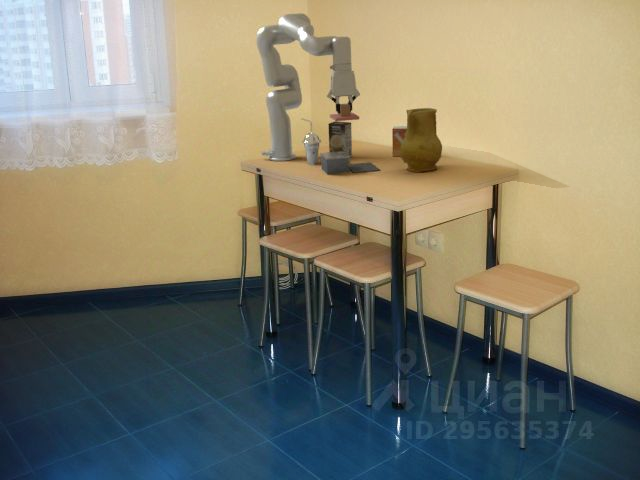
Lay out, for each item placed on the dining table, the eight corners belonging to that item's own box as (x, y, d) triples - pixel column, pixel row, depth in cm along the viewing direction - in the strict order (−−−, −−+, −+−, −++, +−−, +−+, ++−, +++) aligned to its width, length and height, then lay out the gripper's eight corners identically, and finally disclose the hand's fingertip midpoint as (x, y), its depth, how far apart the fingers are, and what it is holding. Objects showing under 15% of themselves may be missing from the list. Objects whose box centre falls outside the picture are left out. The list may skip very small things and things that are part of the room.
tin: (327, 174, 306) (326, 158, 304) (321, 169, 317) (320, 153, 315) (350, 172, 308) (349, 156, 306) (343, 166, 319) (342, 151, 317)
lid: (335, 121, 300) (334, 107, 298) (329, 117, 311) (329, 103, 310) (359, 119, 302) (358, 105, 300) (352, 115, 313) (352, 102, 311)
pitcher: (393, 168, 312) (392, 109, 304) (430, 162, 318) (430, 105, 311) (413, 175, 297) (413, 113, 289) (452, 169, 303) (453, 109, 296)
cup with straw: (307, 166, 324) (304, 121, 317) (300, 162, 332) (297, 118, 325) (325, 164, 326) (323, 119, 320) (317, 160, 335) (315, 116, 328)
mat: (353, 173, 306) (353, 172, 306) (344, 165, 321) (344, 164, 321) (380, 170, 308) (380, 169, 308) (370, 163, 323) (370, 162, 323)
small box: (392, 156, 335) (391, 128, 331) (393, 154, 340) (393, 126, 336) (410, 156, 333) (410, 128, 329) (411, 154, 339) (411, 125, 335)
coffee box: (328, 157, 339) (327, 123, 334) (335, 155, 344) (334, 121, 339) (345, 159, 334) (344, 124, 329) (352, 156, 339) (351, 122, 334)
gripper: (324, 70, 295) (326, 115, 301) (364, 67, 298) (365, 112, 303) (320, 68, 302) (322, 113, 308) (360, 66, 305) (361, 110, 311)
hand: (344, 112), depth 306 cm, fingers closed on lid, 4 cm apart
